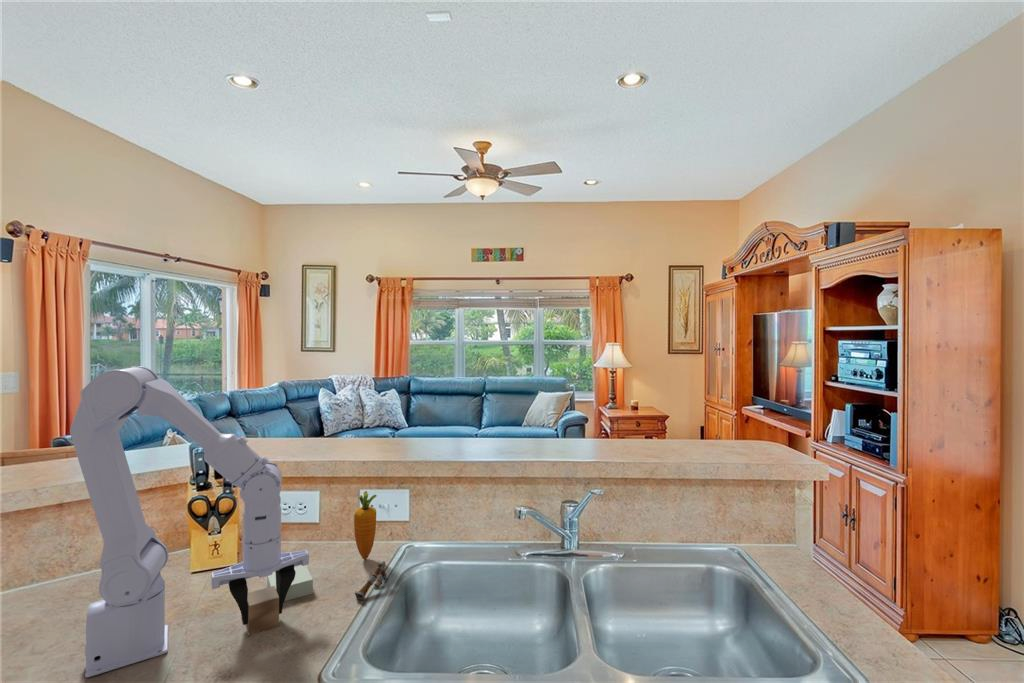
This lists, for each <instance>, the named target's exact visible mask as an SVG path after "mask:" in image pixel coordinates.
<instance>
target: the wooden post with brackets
mask: <svg viewBox="0 0 1024 683" xmlns="http://www.w3.org/2000/svg"><path fill="white" fill-rule="evenodd" d="M385 568H386V561H385V560H383V561H380V562H379V563H378V564H377V566H376V569H375V571H374V572H373V573H371V575H370V576H369V578H368V579H367V582H366V583H365V584H364V585H363V586H362V587H361V588H360V590H358V591H357V590H356V591H355V592H354V595H355V598H356V599H357V600H362V601H364V602H365V601H366V594H367V593H368V591H369V589H370V588H371V586H374V590H377V589H380V588H381V587H382V585H384V584H383V582H384V581H387V580H389V579H388V574H387V573H386V571H385ZM379 575H381V578H380V579H378V578H379V577H378V576H379Z"/></svg>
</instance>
